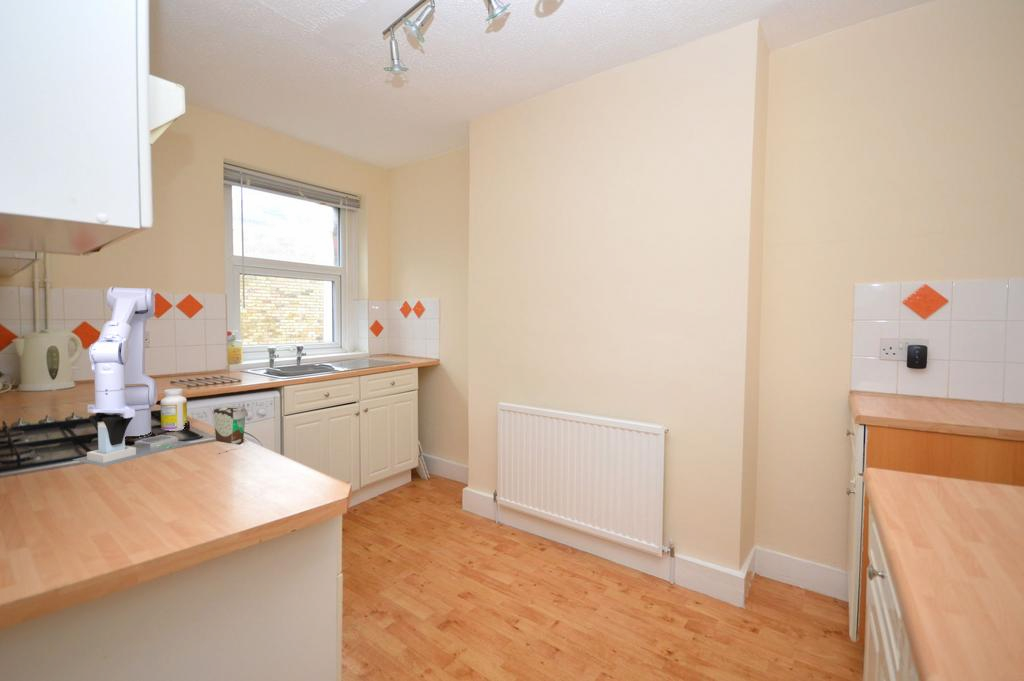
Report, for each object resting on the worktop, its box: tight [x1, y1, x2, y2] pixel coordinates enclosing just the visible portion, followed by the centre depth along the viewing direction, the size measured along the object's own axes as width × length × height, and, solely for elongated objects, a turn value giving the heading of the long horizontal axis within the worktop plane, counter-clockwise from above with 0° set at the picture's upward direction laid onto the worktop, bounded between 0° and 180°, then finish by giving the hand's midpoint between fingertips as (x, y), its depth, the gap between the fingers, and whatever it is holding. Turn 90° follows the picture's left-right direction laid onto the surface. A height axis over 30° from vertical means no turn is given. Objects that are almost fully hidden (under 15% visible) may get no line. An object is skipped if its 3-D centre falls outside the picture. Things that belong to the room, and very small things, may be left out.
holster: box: [86, 445, 136, 463], centre depth 113 cm, size 6×7×2 cm
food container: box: [212, 405, 249, 446], centre depth 131 cm, size 12×6×10 cm, turn 58°
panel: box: [72, 440, 193, 467], centre depth 118 cm, size 12×21×1 cm, turn 161°
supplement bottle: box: [159, 388, 188, 432], centre depth 142 cm, size 7×7×13 cm
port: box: [134, 434, 179, 451], centre depth 122 cm, size 8×7×2 cm
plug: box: [97, 422, 126, 454], centre depth 113 cm, size 3×4×8 cm
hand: (111, 443), depth 113 cm, fingers closed on plug, 3 cm apart
